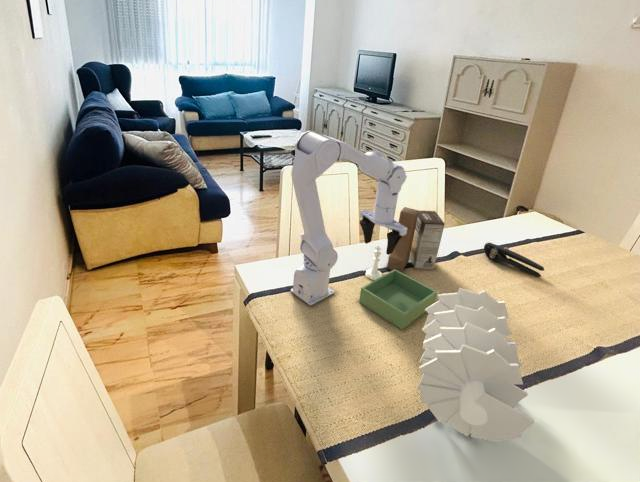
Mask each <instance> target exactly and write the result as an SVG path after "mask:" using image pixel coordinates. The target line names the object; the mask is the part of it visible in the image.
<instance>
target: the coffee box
mask: <svg viewBox="0 0 640 482" xmlns="http://www.w3.org/2000/svg"><path fill="white" fill-rule="evenodd" d="M417 210H418V209H417ZM418 211H419V212H418V217H417V222H416V227H415V232H414V237H413V242H412V247H411V252H410V257H409V261H410V262H411V264H412V266H413V268H414V269H424V270H425V269H426V270H434V269H435V265H436V262H437V258H438V253H439V249H440V245H441V241H442V237H443V236H442V235H443V233H444V228H445V225H446V223H445V222H444V221H443V220H442V218H441V217H440V216H439V214H438V213H437V212H436V210H418Z"/></svg>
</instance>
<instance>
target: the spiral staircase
mask: <svg viewBox="0 0 640 482" xmlns="http://www.w3.org/2000/svg"><path fill="white" fill-rule="evenodd" d="M437 298H438V300H437V301H435V303H434V304H432V305H430V306H429V307H427V308H426V309H425V311H426V312H425V313H427V314H428V315H427V317H426V319H425V323H424V325H423V327H422V328H421V331H422V332H423V333H425V336H424V340H423V342H422V343H423V344H422V350H423V353H422V355H421V357H420V359H419V361H418V363H419V364H421V365H419V370H420V371H421V378H420V380H419V382H418V385H417V387H416V389H417V390H418V391H420V403H421V404H424V405H426V407H427V408H428V410H429V411H430V412H431V413H432V415H433V416H434V417H435V419H436V420H437V421H438V422H439V423H440V424H443V423H445V425H447V426H448V427H450V428H452V429H453V430H455V431H456V432H458V433H460V434H462V435H464V437H469V436H470V437H471V438H474V439H478V440H479V439H480V440H484V441H489V442H493V443H499V442H500V441H507V440H512V439H519V438H523V435H522V434H523V433H524V432H525V431H526V430H527V429H529V428H530V427H531V426H532V425H533V424H535V423H536V422H535V419H534V418H532V417H530V416H529V415H526V414H525V413H523V412H521V411H519V410H517V409H516V408H515V405H517V404H518V403H520V402H521V401H523V400H524V399H525V398H526V397H528V396H529V393H528V392H527V391H525V390H524V389H522V388H520V387H518V386H517V385H524V383H523V379H522V378H523V377H522V375H521V370H520V367H521V366H522V365H523V362H522V360H519V355H518V347H517V346H518V341H517V342H516V341H514V340H512V339H510V338H508V337H506V336H512V335H513V333H512V331H511V328H510V326H509V323H508V320H507V319H510V317H509V313H508V309H507V306H506V302H505V300H502V301H501V300H500V301H499V300H497V299H495V298H494V297H493V296H492V295H491V294H490V293H488V292H487V291H486V290H485V289H483V290H482V291H480V292H476V291H472V290H471V289H466V288H462V287H459V288H458V290H457V292H447V293H437Z"/></svg>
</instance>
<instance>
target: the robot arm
mask: <svg viewBox="0 0 640 482" xmlns="http://www.w3.org/2000/svg"><path fill="white" fill-rule="evenodd" d="M293 147H294V153H295V154H294V159H293V163H292V167H291V172H290V173H291V175H290V176H291V181H292V185H293V191H294V193H295V199H296V203H297V208H298V212H299V215H300V220H301V224H302V229H303V232H302V233H301V234H300V244H299V249H300V252H301V253H302V254H303V257H302V258H303V263H302V264H301V266H300V267H299V268H297V269H296V270H295V271H294V273H293V283H292V288H291V289H290V292H291V293H292V294H294V295H295V296H296V297H298V298H299V299H300V300H302V301H303V302H304V303H306V304H307V305H309V306H313V305H315V304H317V303H318V302H320V301H322V300H324V299H326V298H328V297H330V296H331V295H333V294H335V290H334V289H332V288H331V287H329V283H330V276H331V275H330V274H331V270H332V269H333V267H335V265H336V263H337V261H338V257H339V256H338V252H337V251H336V249H335V248H334V246H333V242H332V241H331V240H330V239H331V238H329V236H328V234H327V232H326V227H325V223H324V218H323V212H322V207H321V201H320V196H319V192H318V191H319V190H318V186H317V181H316V180H317V179H318V178H320V177H321V176H322V175H323V174H324V173H325V172H326V171H328V169H330V168H331V167H332V166H333V165H334V164H335V163H336V162H338V163H339V162H341V161H342V159H345V160H347V161H349V162H352V163H354V164H357V165H358V169H359V171H360V172H361V173H363V174H365V175H367V176H370V177H372V178H374V179H375V180H378V181H377V187H376V194H375V199H374V200H375V201H374V205H373V206H374V207H373V211H371V210H370V211H369V210H367V209H361V210H360V212H359V218H360V219H361V220H359V225H360V227H361V230H362V234H363V238H364V240H363V241H364V244H370V243H371V242H372V239H373V233H374V230H375V226H376V225H377V226H379V227H384V228H386V229H389V230H391V231H389V232H387V233H386V236H387V239H386V240H387V246H386V251H385V253H386V255H388V256H390V254H391V253H393V250H394V248H395V246H396V244H397V243H398V241H399V240H400V239H401V238H402V237H403V236H404V235H406V233H407V228H406V227H404V226H403V225H401V224H400V223H398V222H399V221H397V220H396V219H395V215H396V209H397V203H398V198H399V193H400V191H401V190H402V187H403V185H404V183H405V182H406V180H407V177H408V175H407V173H406V170H405V168H404V167H403V166H402V165H399V164H397V163H394V162H393V159H391V158H385V157H383V156H382V153H381V152H379V151H376V150H374V151H367V152H365V153H364V152H362V151H361V150H359V149H357V148H356V147H353V146H352V145H350V144H348V143H347V142H345V141H342V140H340V139H337V138H335V137H331V136H328V135H326V134H322V133H320V134H319V133H318V132H316V131H314V130H307V131H305V132H303V133H302V134H301V135H299V138H298V139H297V140H296V142H295V143H294V146H293Z"/></svg>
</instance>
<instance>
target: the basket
mask: <svg viewBox="0 0 640 482" xmlns="http://www.w3.org/2000/svg"><path fill="white" fill-rule="evenodd" d="M437 297H438V291H437V290H435V289H433V288H432V287H429V286H427V285H426V284H424V283H422V282H420V281H418V280H416V279H414V278H412V277H411V276H409V275H407V274H405V273H403V272H399V271H397V270H395V269H394V270H389V272H387V273H385V274H382V277H380V278H378V279H376V280H372V281H371V282H369V283H367V284H366V285H363V286H362V287H360V293H359V300H358V302H359V303H360V304H361V305H362V306H365V307H366V308H368V309H369V310H371V311H373V312H374V313H375V314H377V315H378V316H380V317H382V318H383V319H385V320H386V321H388V323H391V324H392V325H394V326H395V327H397V328H399V329H400V330H404V329H405V328H406V327H408V326H409V325H410V324H411V323H413V322H414V321H415V320H417V319H418V318H419V317H421V316H423V315H424V314H425V313H427V312H426V311H425V309H426V308H427V307H429V306H430V305H432V304H434V303H435V302H436V300H437Z"/></svg>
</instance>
